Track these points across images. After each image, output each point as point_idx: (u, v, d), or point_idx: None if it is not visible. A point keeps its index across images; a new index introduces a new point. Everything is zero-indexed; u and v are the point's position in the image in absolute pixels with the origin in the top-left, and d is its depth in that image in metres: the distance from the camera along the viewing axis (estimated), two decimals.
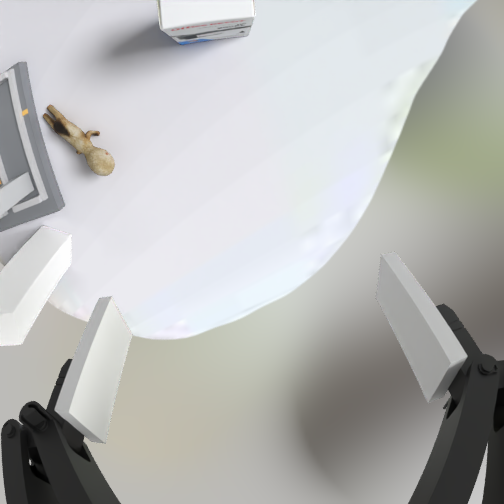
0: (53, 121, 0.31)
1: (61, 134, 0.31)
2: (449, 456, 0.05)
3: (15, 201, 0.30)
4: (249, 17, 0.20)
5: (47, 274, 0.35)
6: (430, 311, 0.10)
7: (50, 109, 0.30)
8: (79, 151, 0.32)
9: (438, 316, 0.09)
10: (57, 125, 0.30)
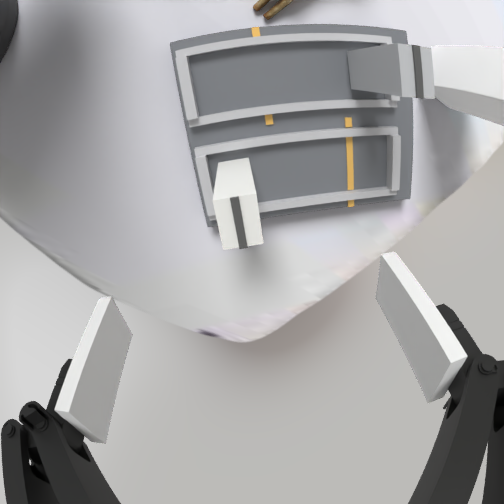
0: (280, 0, 0.21)
1: None
2: (449, 456, 0.05)
3: None
4: None
5: None
6: (430, 311, 0.10)
7: (260, 2, 0.21)
8: None
9: (438, 316, 0.09)
10: None
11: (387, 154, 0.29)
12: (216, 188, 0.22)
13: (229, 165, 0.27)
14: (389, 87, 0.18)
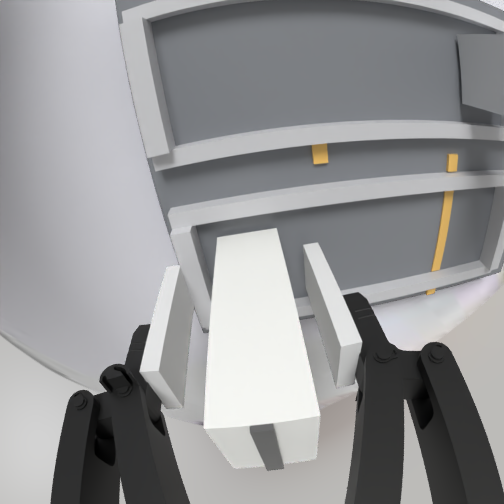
0: None
1: None
2: (362, 453, 0.06)
3: None
4: None
5: None
6: (334, 297, 0.11)
7: None
8: None
9: (341, 302, 0.11)
10: None
11: (491, 215, 0.15)
12: (212, 361, 0.09)
13: (239, 253, 0.14)
14: None
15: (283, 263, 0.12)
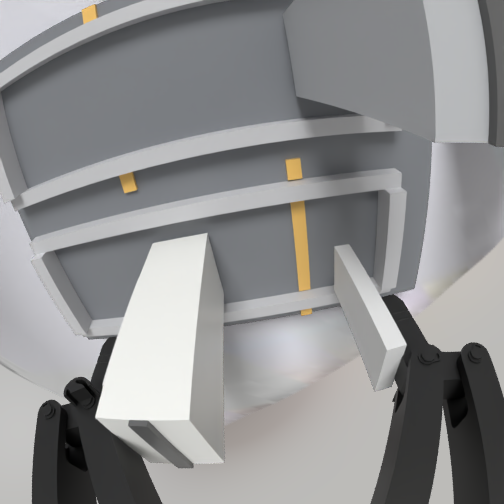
0: None
1: None
2: (399, 452, 0.06)
3: None
4: None
5: None
6: (373, 300, 0.11)
7: None
8: None
9: (381, 305, 0.10)
10: None
11: (377, 224, 0.16)
12: (115, 359, 0.09)
13: (166, 258, 0.14)
14: (378, 92, 0.05)
15: (201, 268, 0.13)
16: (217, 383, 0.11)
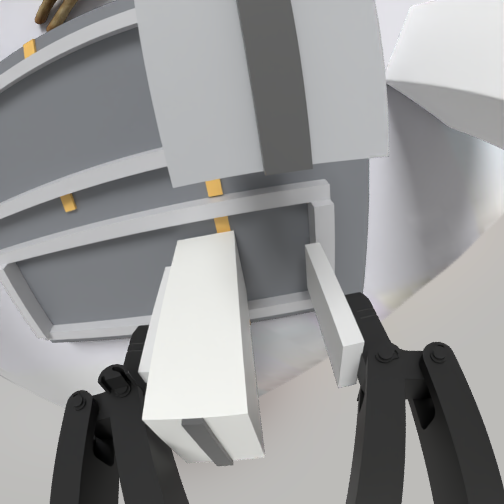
0: None
1: None
2: (364, 453, 0.06)
3: None
4: None
5: None
6: (336, 297, 0.11)
7: (40, 8, 0.09)
8: None
9: (343, 302, 0.11)
10: None
11: (310, 238, 0.16)
12: (156, 357, 0.09)
13: (195, 255, 0.14)
14: None
15: (234, 265, 0.13)
16: (253, 378, 0.11)
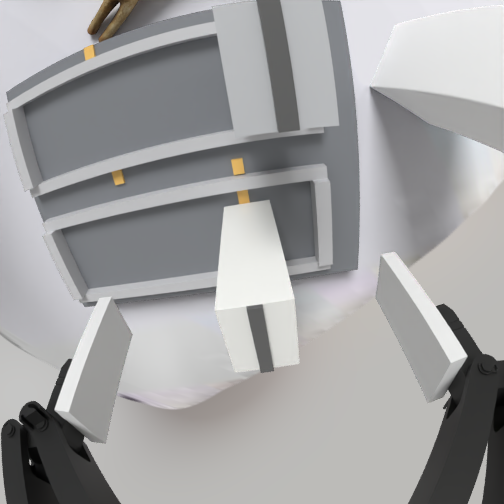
0: (117, 12, 0.13)
1: None
2: (449, 456, 0.05)
3: None
4: None
5: None
6: (430, 311, 0.10)
7: (93, 22, 0.13)
8: None
9: (438, 316, 0.09)
10: None
11: (312, 210, 0.20)
12: (221, 274, 0.13)
13: (241, 215, 0.18)
14: None
15: (273, 219, 0.17)
16: None
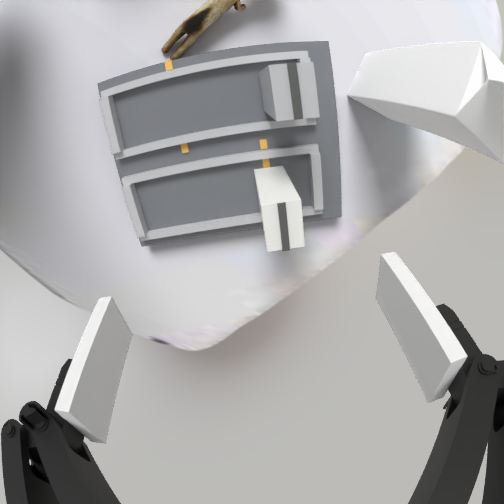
0: (184, 40, 0.24)
1: (204, 21, 0.22)
2: (449, 456, 0.05)
3: None
4: None
5: None
6: (430, 311, 0.10)
7: (167, 45, 0.24)
8: None
9: (438, 316, 0.09)
10: (190, 24, 0.22)
11: (309, 173, 0.31)
12: (260, 194, 0.24)
13: (266, 172, 0.29)
14: (272, 111, 0.20)
15: (286, 174, 0.28)
16: None
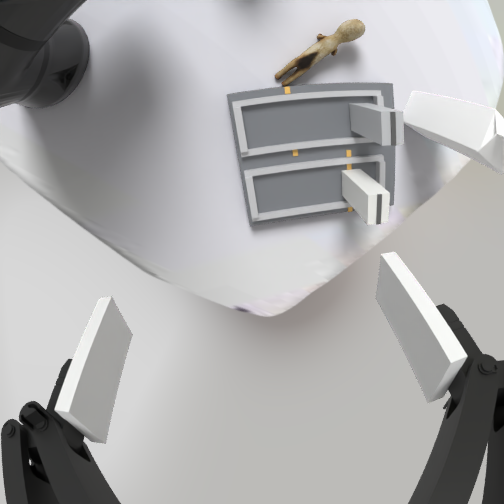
0: (294, 72, 0.35)
1: (313, 61, 0.33)
2: (449, 456, 0.05)
3: (382, 106, 0.32)
4: None
5: None
6: (430, 311, 0.10)
7: (280, 73, 0.35)
8: (335, 47, 0.32)
9: (438, 316, 0.09)
10: (302, 62, 0.33)
11: (376, 174, 0.43)
12: (362, 188, 0.35)
13: (352, 173, 0.40)
14: (375, 137, 0.32)
15: (367, 175, 0.39)
16: None
